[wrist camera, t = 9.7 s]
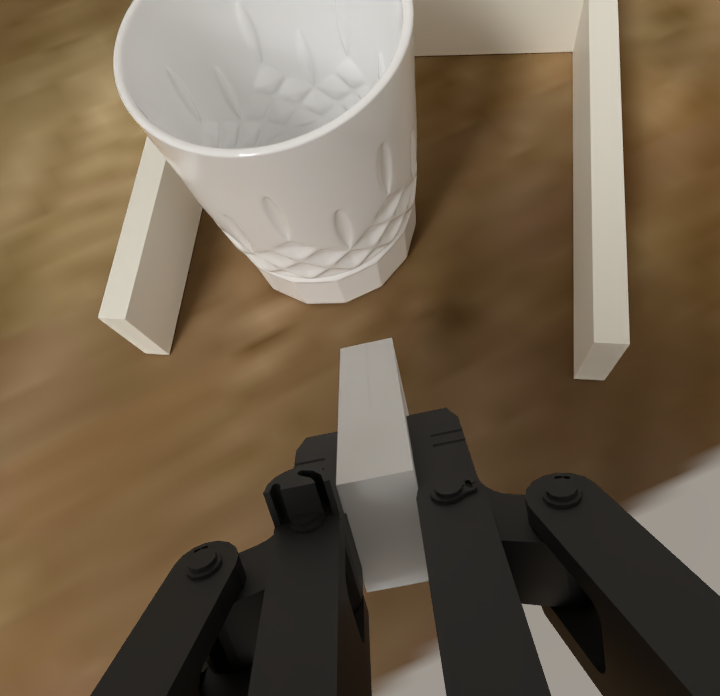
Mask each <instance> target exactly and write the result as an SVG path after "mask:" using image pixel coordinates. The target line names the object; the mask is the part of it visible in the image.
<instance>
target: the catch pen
mask: <svg viewBox="0 0 720 696" xmlns="http://www.w3.org/2000/svg"><path fill="white" fill-rule="evenodd" d="M413 8H414V49H415V56H439V55H475V54H511V53H547V52H573V278H574V379H587V380H605V379H606V377H607V376H608V375H609V373H610V372H611V370H612V369H613V368H614V366H615V365H616V363H617V362H618V360H619V359H620V358H621V356H622V355H623V353H624V352H625V351H626V349H627V348H628V346H629V345H630V333H629V305H628V277H627V249H626V221H625V193H624V165H623V137H622V109H621V81H620V53H619V25H618V0H413ZM202 208H203V207H202V206H201V205H200V204H199V202H198V201H197V200H196V198H195V197H194V195H193V194H192V193H191V191H190V190H189V188H188V187H187V186H186V184H185V183H184V182H183V181H182V179H181V178H180V177H179V175H178V174H177V173H176V172H175V170H174V169H173V168H172V167H171V165H170V164H169V163H168V162H167V160H166V159H165V158H164V157H163V156H162V154H161V153H160V152H159V150H158V149H157V148H156V146H155V145H154V144H153V143H152V141H151V140H150V139H149V137H148V136H147V139H146V142H145V146H144V150H143V154H142V157H141V161H140V165H139V168H138V172H137V176H136V179H135V183H134V187H133V190H132V194H131V198H130V201H129V205H128V209H127V212H126V216H125V220H124V224H123V227H122V231H121V235H120V238H119V242H118V246H117V249H116V253H115V257H114V260H113V264H112V268H111V271H110V275H109V279H108V282H107V286H106V290H105V294H104V297H103V301H102V305H101V308H100V312H99V316H98V319H100V320H101V321H102V322H104V323H105V324H107V325H108V326H109V327H111V328H112V329H113V330H115V331H116V332H117V333H119V334H120V335H121V336H123V337H124V338H125V339H127V340H128V341H129V342H131V343H132V344H133V345H135V346H136V347H138V348H139V349H140V350H142V351H143V352H144V353H147V354H164V355H169V354H170V350H171V345H172V341H173V337H174V332H175V328H176V323H177V319H178V314H179V310H180V306H181V301H182V297H183V292H184V288H185V283H186V279H187V274H188V270H189V266H190V261H191V257H192V252H193V248H194V243H195V239H196V234H197V230H198V226H199V221H200V217H201V212H202Z"/></svg>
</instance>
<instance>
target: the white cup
mask: <svg viewBox="0 0 720 696" xmlns="http://www.w3.org/2000/svg"><path fill="white" fill-rule="evenodd" d="M113 70H114V78H115V83H116V86H117V90H118V93H119V95H120V98H121V100H122V102H123V104H124V105H125V107H126V109H127V110H128V112H129V113H130V115H131V116H132V117H133V118H134V120H135V121H136V122H137V123H138V125H139V126H140V127H141V129H142V130H143V131H144V132H145V134H146V135H147V136H148V137H149V139H150V140H151V141H152V143H153V144H154V145H155V146H156V148H157V149H158V150H159V152H160V153H161V154H162V156H163V157H164V158H165V159H166V160H167V162H168V163H169V164H170V165H171V167H172V168H173V169H174V170H175V172H176V173H177V174H178V175H179V177H180V178H181V179H182V181H183V182H184V183H185V184H186V186H187V187H188V188H189V190H190V191H191V193H192V194H193V195H194V197H195V198H196V200H197V201H198V202H199V204H200V205H201V206H202V207H203V209H204V210H205V211H206V212H207V213H208V214H209V215H210V216H211V217H212V218H213V219H214V221H215V222H216V224H217V225H218V226H219V228H220V229H221V230H222V231H223V232H224V233H225V235H226V236H227V237H228V238H229V239H230V240H231V241H232V243H233V244H234V245H235V247H236V248H237V249H238V250H240V251H241V252H243V253H244V254H245V255H246V256H247V257H248V258H249V259H250V260H251V261H252V262H253V264H254V265H255V266H256V267H257V269H258V270H259V271H260V273H261V274H262V275H263V276H264V278H265V279H266V280H267V282H268V283H269V284H270V285H271V287H272V288H273V289H274V290H277V291H279V292H281V293H283V294H286V295H288V296H290V297H292V298H295V299H297V300H299V301H301V302H304V303H306V304H323V303H347V302H349V301H351V300H353V299H355V298H357V297H360V296H362V295H364V294H366V293H368V292H370V291H373V290H375V289H377V288H379V287H381V286H382V285H383V284H384V283H385V282H386V281H387V280H388V278H389V277H390V276H391V275H392V274H393V273H394V272H395V271H396V269H397V268H398V267H399V266H400V265H401V264H402V263H403V262H404V260H405V259H406V258H407V255H408V251H409V248H410V244H411V240H412V237H413V233H414V229H415V225H416V211H415V192H416V180H417V161H416V155H417V115H416V84H415V49H414V8H413V0H133V2H132V3H131V5H130V7H129V8H128V10H127V12H126V14H125V16H124V18H123V20H122V23H121V25H120V28H119V31H118V34H117V37H116V41H115V47H114V54H113Z"/></svg>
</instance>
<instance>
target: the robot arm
mask: <svg viewBox="0 0 720 696" xmlns="http://www.w3.org/2000/svg"><path fill="white" fill-rule="evenodd" d="M263 494H264V497H265V500H266V503H267V506H268V508H269V511H270V514H271V517H272V520H273V523H274V526H275V529H274V535H273V536H272V537H271V538H269V539H268V540H266V541H265V542H263V543H261V544H259V545H257V546H255V547H252V548H250V549H248V550H245V551H243V552H241V553H238V551H237V549H236V547H235V546H233V545H232V544H231V543H229V542H224V541H214V542H208V543H205V544H202V545H200V546H198V547H195V548H193V549H192V550H190V551H189V552H187V553H186V554H185V555H183V556H182V557H181V558H180V559H179V560H178V562H177V563H176V564H175V565H174V566H173V568H172V569H171V571H170V573H169V574H168V576H167V577H166V579H165V580H164V582H163V583H162V585H161V587H160V588H159V590H158V591H157V593H156V594H155V596H154V597H153V599H152V601H151V602H150V604H149V605H148V607H147V608H146V610H145V611H144V613H143V615H142V616H141V618H140V619H139V621H138V622H137V624H136V625H135V627H134V629H133V630H132V632H131V633H130V635H129V636H128V638H127V639H126V641H125V643H124V644H123V646H122V647H121V649H120V650H119V652H118V653H117V655H116V657H115V658H114V660H113V661H112V663H111V664H110V666H109V667H108V669H107V671H106V672H105V674H104V675H103V677H102V678H101V680H100V681H99V683H98V684H97V686H96V688H95V689H94V691H93V692H92V694H91V695H90V696H372V690H371V665H370V640H369V615H368V609H367V606H366V603H365V599H364V596H363V580H364V584H365V587H366V591H367V592H372V591H377V590H383V589H388V588H394V587H399V586H405V585H410V584H415V583H421V582H426V581H429V585H430V591H431V598H432V604H433V611H434V617H435V624H436V630H437V637H438V643H439V650H440V656H441V662H442V669H443V675H444V682H445V688H446V695H447V696H551V694H550V691H549V688H548V685H547V682H546V678H545V675H544V672H543V669H542V666H541V664H540V660H539V657H538V654H537V651H536V647H535V644H534V641H533V638H532V635H531V632H530V629H529V626H528V623H527V620H526V617H525V613H524V610H523V607H522V604H531V605H541V606H542V609H543V611H544V613H545V615H546V617H547V618H548V619H549V621H550V622H551V624H552V625H553V626H554V628H555V629H556V631H557V632H558V633H559V635H560V636H561V638H562V639H563V640H564V642H565V643H566V645H567V646H568V647H569V649H570V650H571V652H572V653H573V654H574V656H575V657H576V659H577V660H578V662H579V663H580V664H581V666H582V667H583V669H584V670H585V671H586V673H587V674H588V676H589V677H590V678H591V680H592V681H593V683H594V684H595V685H596V687H597V688H598V689H599V691H600V692H601V694H602V695H603V696H720V596H719V595H718V594H716V592H714V591H713V590H712V589H711V588H710V587H709V586H708V585H706V583H704V582H703V581H702V580H701V579H700V578H699V577H698V576H697V575H696V574H695V573H693V572H692V571H691V570H690V569H689V568H688V567H687V566H686V565H685V564H683V563H682V562H681V561H680V560H679V559H678V558H677V557H676V556H675V555H674V554H672V553H671V552H670V551H669V550H668V549H667V548H666V547H664V545H663V544H661V543H660V542H659V541H658V540H657V539H656V538H655V537H654V536H652V534H650V533H649V532H648V531H647V530H646V529H645V528H644V527H643V526H641V525H640V524H639V523H638V522H637V521H636V520H635V519H634V518H633V517H632V516H631V515H629V514H628V513H627V512H626V511H625V510H624V509H623V508H622V507H621V506H620V505H618V504H617V503H616V502H615V501H614V500H613V499H612V498H611V497H610V496H609V495H607V494H606V493H605V492H604V491H603V490H602V489H601V488H600V487H599V486H597V485H596V484H595V483H594V482H592V481H591V480H589V479H587V478H586V477H584V476H580V475H576V474H572V473H555V474H550V475H546V476H543V477H541V478H539V479H537V480H535V481H533V482H532V483H531V485H530V486H529V487H528V488H527V489H526V495H514V494H504V493H500V492H496V491H493V490H491V489H489V488H487V487H485V486H484V485H483V484H482V483H481V482H480V481H479V479H478V477H477V475H476V472H475V469H474V465H473V462H472V459H471V456H470V453H469V450H468V447H467V444H466V441H465V437H464V434H463V431H462V428H461V425H460V422H459V419H458V416H456V415H455V414H454V413H452V412H451V411H450V410H448V409H447V408H443V409H438V410H433V411H428V412H424V413H419V414H414V415H409V413H408V408H407V404H406V399H405V395H404V390H403V386H402V381H401V377H400V372H399V368H398V363H397V359H396V354H395V350H394V345H393V341H392V338H388V339H383V340H379V341H374V342H369V343H365V344H360V345H355V346H351V347H346V348H341V349H340V377H339V408H338V432H333V433H328V434H323V435H318V436H313V437H308V438H306V439H305V440H304V441H303V443H302V444H301V445H300V447H299V448H298V449H297V451H296V457H295V466H294V469H292V470H288V471H286V472H284V473H282V474H280V475H279V476H277V477H275V478H274V479H273V480H272V481H271V482H270V483H269V484H268V485H267V487H266V489H265V491H264V493H263Z"/></svg>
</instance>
